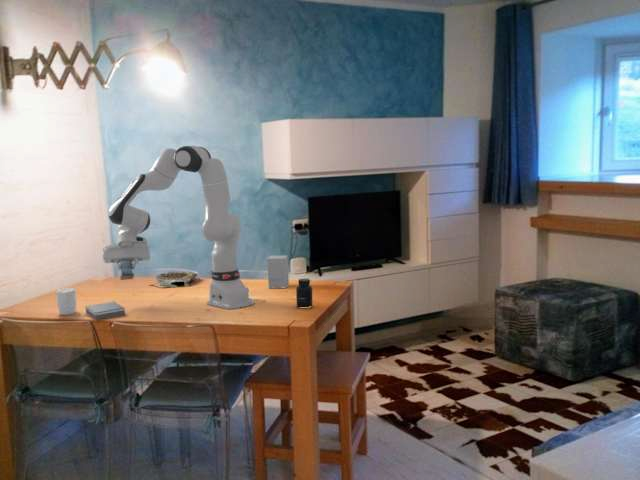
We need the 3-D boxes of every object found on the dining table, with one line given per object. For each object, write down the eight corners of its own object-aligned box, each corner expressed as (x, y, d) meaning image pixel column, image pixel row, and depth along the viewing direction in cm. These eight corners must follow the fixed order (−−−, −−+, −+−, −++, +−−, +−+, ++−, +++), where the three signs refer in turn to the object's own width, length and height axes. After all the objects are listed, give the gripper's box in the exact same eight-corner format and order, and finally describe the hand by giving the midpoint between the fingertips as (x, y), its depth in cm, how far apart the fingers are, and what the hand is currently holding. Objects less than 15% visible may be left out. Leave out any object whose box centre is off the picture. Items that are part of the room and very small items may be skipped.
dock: (125, 314, 249) (124, 307, 249) (95, 320, 242) (94, 312, 242) (114, 308, 261) (113, 301, 260) (85, 313, 254) (85, 306, 253)
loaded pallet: (122, 276, 266) (121, 259, 265) (134, 275, 267) (132, 258, 266) (120, 279, 260) (119, 262, 258) (132, 279, 261) (131, 261, 259)
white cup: (71, 309, 260) (69, 287, 259) (81, 312, 255) (79, 289, 254) (54, 313, 254) (52, 290, 253) (63, 316, 249) (61, 293, 248)
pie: (140, 283, 312) (140, 274, 311) (187, 275, 330) (186, 267, 329) (166, 291, 291) (165, 281, 290) (214, 283, 309) (213, 273, 308)
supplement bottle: (298, 309, 248) (297, 281, 247) (295, 305, 255) (294, 278, 253) (314, 308, 250) (313, 280, 248) (310, 304, 257) (309, 277, 255)
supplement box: (289, 284, 297) (288, 255, 295) (286, 288, 288) (285, 258, 286) (271, 284, 298) (270, 255, 296) (268, 288, 289) (266, 258, 287)
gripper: (102, 240, 266) (100, 266, 258) (149, 237, 270) (149, 262, 262) (104, 249, 271) (103, 274, 263) (150, 246, 275) (150, 270, 267)
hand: (126, 268), depth 262 cm, fingers closed on loaded pallet, 5 cm apart
